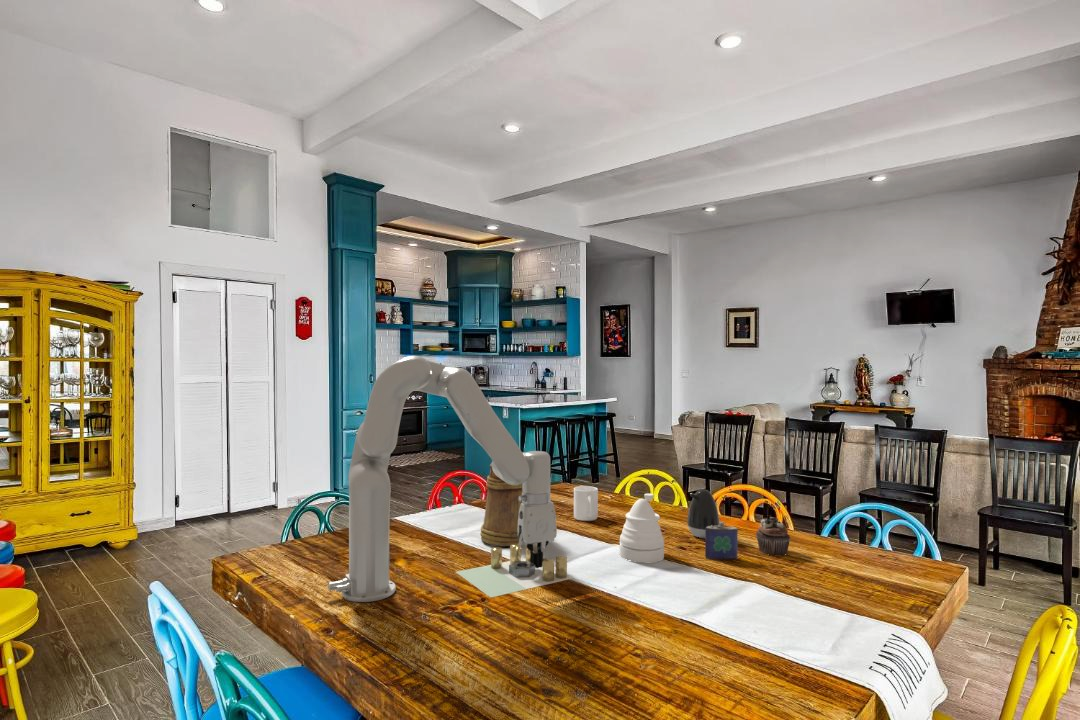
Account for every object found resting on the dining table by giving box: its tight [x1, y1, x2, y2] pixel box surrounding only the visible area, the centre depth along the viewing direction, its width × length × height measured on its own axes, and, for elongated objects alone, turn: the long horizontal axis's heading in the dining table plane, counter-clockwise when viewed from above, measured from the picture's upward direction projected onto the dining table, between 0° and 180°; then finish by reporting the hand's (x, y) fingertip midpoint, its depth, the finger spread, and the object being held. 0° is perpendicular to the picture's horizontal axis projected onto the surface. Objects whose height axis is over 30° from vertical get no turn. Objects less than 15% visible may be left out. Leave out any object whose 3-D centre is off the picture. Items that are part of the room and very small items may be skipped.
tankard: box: [480, 462, 523, 547], centre depth 195 cm, size 18×24×25 cm
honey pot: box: [619, 493, 665, 563], centre depth 178 cm, size 13×13×18 cm
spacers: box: [490, 544, 568, 582], centre depth 162 cm, size 14×18×5 cm
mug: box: [573, 485, 599, 522], centre depth 217 cm, size 9×12×11 cm
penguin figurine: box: [686, 488, 721, 539], centre depth 197 cm, size 10×10×15 cm
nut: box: [509, 561, 535, 578], centre depth 160 cm, size 6×7×2 cm
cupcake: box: [755, 517, 791, 556], centre depth 182 cm, size 10×10×10 cm
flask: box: [704, 521, 739, 561], centre depth 175 cm, size 9×3×11 cm, turn 88°
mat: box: [455, 557, 573, 598], centre depth 159 cm, size 24×20×1 cm
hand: (536, 566), depth 163 cm, fingers closed
